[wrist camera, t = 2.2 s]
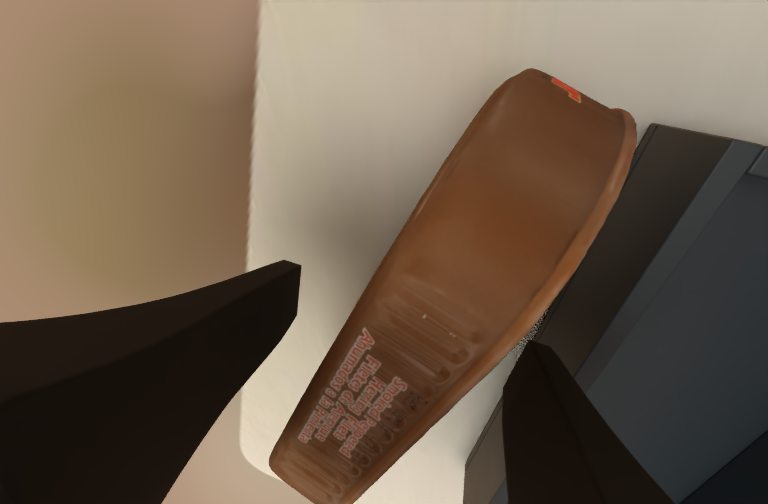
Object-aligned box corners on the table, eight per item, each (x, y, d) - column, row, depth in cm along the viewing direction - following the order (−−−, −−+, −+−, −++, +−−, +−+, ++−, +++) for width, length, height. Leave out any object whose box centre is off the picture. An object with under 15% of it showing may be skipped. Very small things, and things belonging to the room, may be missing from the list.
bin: (1034, 208, 9) (1380, 281, 6) (643, 533, 18) (681, 640, 14) (651, 122, 10) (733, 138, 7) (464, 463, 19) (460, 545, 16)
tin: (382, 377, 18) (311, 572, 11) (332, 347, 18) (228, 521, 11) (586, 110, 11) (803, 151, 3) (501, 61, 11) (534, -4, 3)
